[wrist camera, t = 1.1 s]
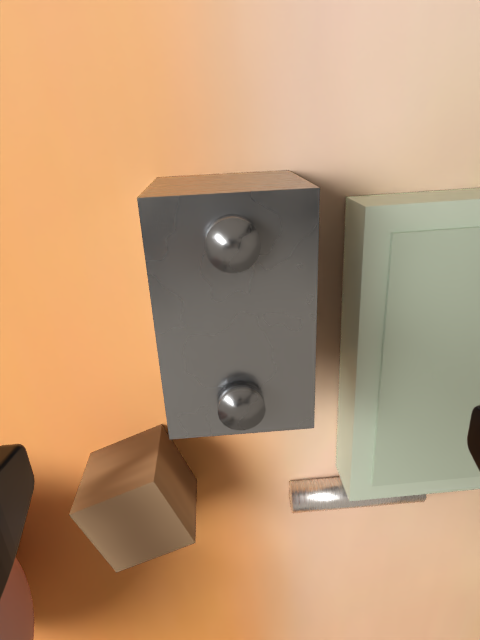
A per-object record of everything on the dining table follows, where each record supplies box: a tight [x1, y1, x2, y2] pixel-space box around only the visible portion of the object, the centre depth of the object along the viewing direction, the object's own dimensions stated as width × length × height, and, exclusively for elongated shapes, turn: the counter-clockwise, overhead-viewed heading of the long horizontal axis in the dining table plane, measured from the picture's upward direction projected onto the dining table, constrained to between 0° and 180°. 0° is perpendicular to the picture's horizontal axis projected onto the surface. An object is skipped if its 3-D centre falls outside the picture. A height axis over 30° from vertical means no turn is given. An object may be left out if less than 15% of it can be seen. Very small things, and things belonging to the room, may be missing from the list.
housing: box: [137, 170, 320, 440], centre depth 17 cm, size 5×8×6 cm, turn 3°
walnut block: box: [69, 424, 197, 573], centre depth 22 cm, size 4×4×4 cm
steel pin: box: [289, 477, 426, 513], centre depth 24 cm, size 7×2×2 cm
